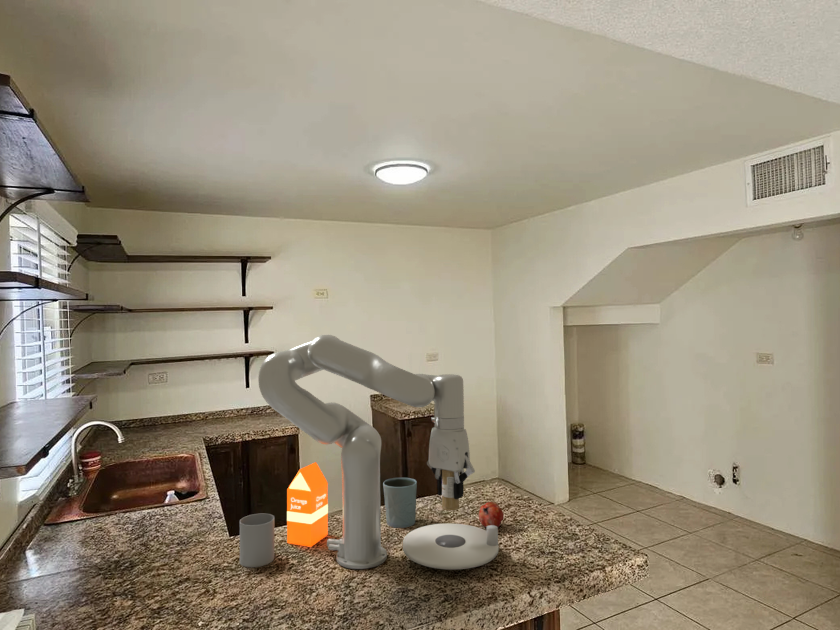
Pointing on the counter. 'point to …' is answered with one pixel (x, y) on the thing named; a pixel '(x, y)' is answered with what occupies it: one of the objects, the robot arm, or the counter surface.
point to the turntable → (451, 545)
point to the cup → (257, 540)
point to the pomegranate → (490, 514)
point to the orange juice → (307, 507)
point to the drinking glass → (400, 502)
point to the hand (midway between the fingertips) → (450, 495)
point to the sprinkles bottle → (448, 491)
